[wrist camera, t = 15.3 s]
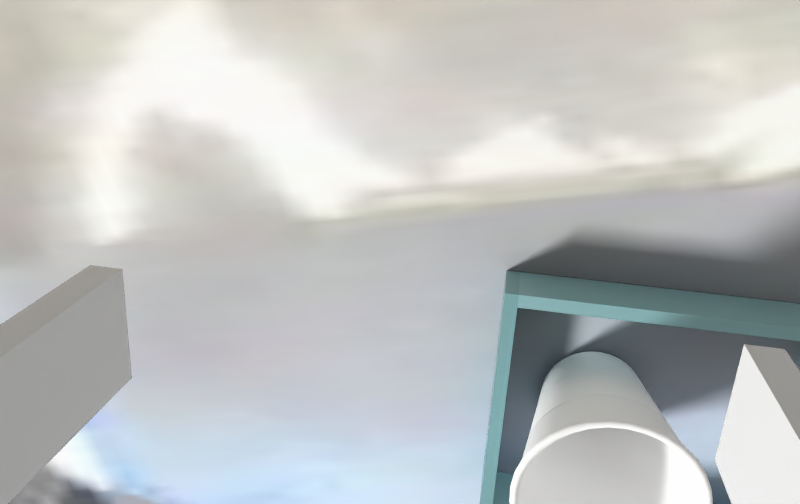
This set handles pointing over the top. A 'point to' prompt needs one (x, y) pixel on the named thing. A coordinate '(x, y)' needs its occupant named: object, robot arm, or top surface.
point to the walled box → (618, 305)
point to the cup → (603, 442)
